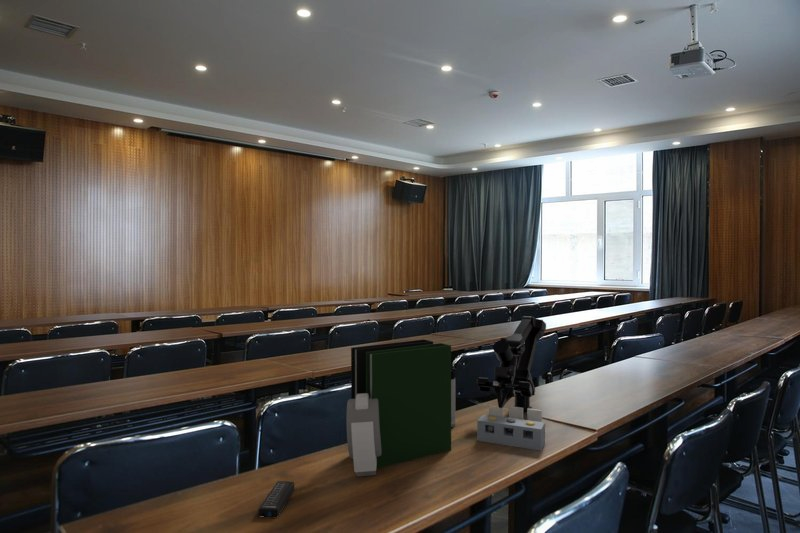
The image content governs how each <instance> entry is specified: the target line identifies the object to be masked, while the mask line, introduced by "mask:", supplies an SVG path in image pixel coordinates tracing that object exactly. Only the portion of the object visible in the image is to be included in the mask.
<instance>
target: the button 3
mask: <svg viewBox="0 0 800 533" xmlns="http://www.w3.org/2000/svg"><path fill="white" fill-rule="evenodd" d="M526 414H527V415H526V418H527V419H526V420H530V421H537V422H543V411H542V409H536V408H532V409H529V408H528V409H527V412H526ZM528 433H530V434H532V433H533V431H528Z"/></svg>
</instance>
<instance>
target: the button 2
mask: <svg viewBox="0 0 800 533" xmlns="http://www.w3.org/2000/svg"><path fill="white" fill-rule="evenodd" d="M508 418H515V419H522V420H524V412H523V408H521V407H514V406H511V405H510V406H508ZM509 430H510V431H513V429H512V428H509Z"/></svg>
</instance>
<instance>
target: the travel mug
mask: <svg viewBox="0 0 800 533" xmlns="http://www.w3.org/2000/svg"><path fill="white" fill-rule="evenodd" d="M456 372H457V368H456V367H455V368H453V367H451V427H452V428H454V427H455V426H456Z"/></svg>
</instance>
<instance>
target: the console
mask: <svg viewBox="0 0 800 533" xmlns="http://www.w3.org/2000/svg"><path fill="white" fill-rule="evenodd" d="M476 422H477V423H476V424H477V425H476V426H477V427H476V428H477V429H476V430H477V431H476V432H477V433H476V435H477V436H476V439H477V442H483V443H491V444H496V445H502V446H509V447H516V448H522V449H529V450H536V451H542V449H543V448H544V446H545V445H546V422H545V421H542V422H537V421H530V420H527V419H523V420H522V419H515V418H509V417H506V416H503V417H500V416H492V415H489V414H482V415H481V416H480V417H479V418H478V419H477V420H476ZM489 425H491V426H494V429H493V430H492V431H489V430H488V429H487V427H488V426H489ZM509 428H512V429H513V431H510V430H509ZM528 431H533V433H532V434H530V433H528Z"/></svg>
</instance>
